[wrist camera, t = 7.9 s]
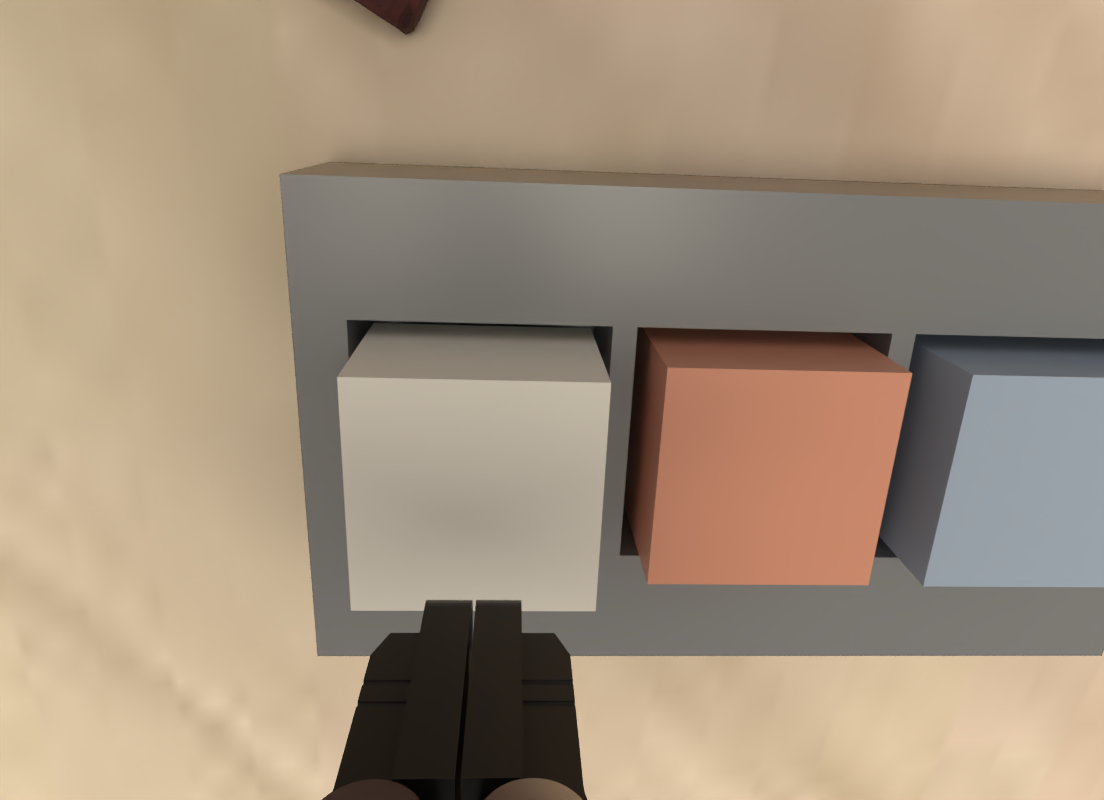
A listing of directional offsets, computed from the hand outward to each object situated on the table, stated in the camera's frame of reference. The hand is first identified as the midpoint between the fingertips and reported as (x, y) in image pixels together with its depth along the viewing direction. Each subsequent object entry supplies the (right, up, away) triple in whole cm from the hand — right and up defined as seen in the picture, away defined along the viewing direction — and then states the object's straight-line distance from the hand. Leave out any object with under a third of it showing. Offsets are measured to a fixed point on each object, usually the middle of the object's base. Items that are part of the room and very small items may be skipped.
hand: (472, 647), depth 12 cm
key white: (-1, +3, +9) cm, 9 cm away
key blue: (+13, +3, +11) cm, 17 cm away
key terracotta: (+6, +3, +10) cm, 12 cm away
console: (+6, +4, +13) cm, 15 cm away
